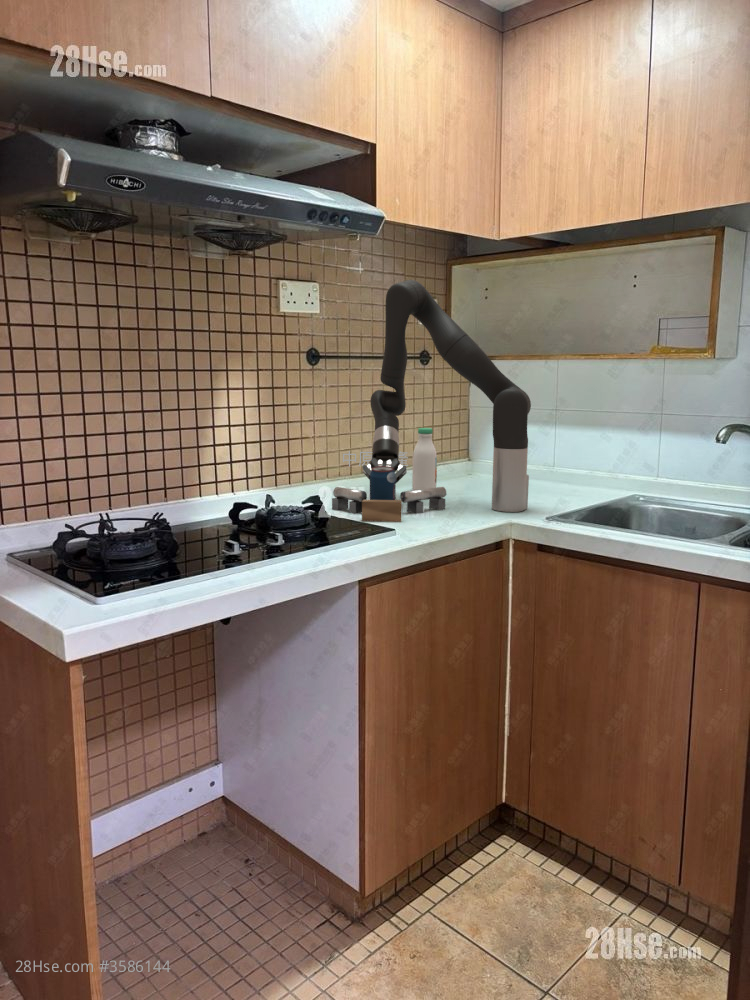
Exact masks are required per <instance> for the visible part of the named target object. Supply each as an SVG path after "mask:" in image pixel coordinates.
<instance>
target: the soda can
mask: <svg viewBox="0 0 750 1000" xmlns="http://www.w3.org/2000/svg"><path fill="white" fill-rule="evenodd" d="M395 473H396V471H395V472H394V470H393V467H389V466H376V467H373V468H371V473H370V480H369V500H396V496H397V495H396V491H397V490H396V488H397V486H396V484H397V483H396V475H395Z"/></svg>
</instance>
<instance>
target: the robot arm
mask: <svg viewBox="0 0 750 1000" xmlns="http://www.w3.org/2000/svg"><path fill="white" fill-rule="evenodd" d="M410 315H411V316H412V317H414V318H416V320H417V321H418V322H420V324H422V326H423V327H424V328H425V329H426V330H427V331H428V334H429V336H430V337H431V339H432V343H433V344H434V347H435V348H436V351H437V353H438V354H439V355H440V357H442V359H443V360H444V361H445V362H446V363H447V364H448V365H449V366H450V367H451V368H452V369H453V370H454V371H456V372H457V374H458V375H460V376H461V377H463V378H464V379H466V381H468V382H469V383H471V384H472V385H474V386H475V387H476V388H478V389H480V390H481V392H483V394H484V395H485V396H486V397H487V398H488V399H489V400H490V402H491V403H492V405H493V407H492V437H493V454H492V455H493V456H492V457H493V458H492V459H493V460H492V482H491V483H492V484H491V485H492V486H491V510H494V511H497V512H507V513H516V512H517V513H518V512H523V510H524V511H525V510H527V508H529V505H528V504H529V485H530V484H529V483H530V481H529V480H530V475H529V474H528V472H527V471H528V452H529V451H528V449H529V437H528V418H529V416H528V415H529V413H530V411H531V409H532V408H531V406H532V403H531V398H530V396H529V395H528V393H527V392H526V391H524V390H523V389H522V388H521V387H519V386H518V385H516V383H514V382H513V381H511V380H510V378H508V377H507V376H506V375H505V374H503V372H502V371H501V370H500V369H499V368H498V367H497V366H496V365H495V363H494V362H493V361H492V360H491V358H490V357H489V356H488V355H487V353H485V352H484V350H483V349H482V348H481V347H480V346H479V344H477V343H476V342H475V340H473V338H472V337H471V336H470V335H469V334H468V333H467V332H466V331H465V330H463V329H462V328H461V327H460V326H459V325H458V324H457V322H455V320H453V319H452V318H451V316H449V315H448V314H447V313H446V312H445V311H444V309H443V308H442V307H441V306H440V305H439V304H438V303H437V301H436V300H435V299H434V297H433V296H432V295H431V294H430V292H429V291H428V290H427V288H426V287H425V286H424V285H423V284H422V283H420V282H419V281H417V280H414V279H406V280H403V281H399V282H396V283H394V284H392V285H391V286H390V287H389V288H388V289H387V291H386V295H385V333H384V334H385V336H384V338H385V339H384V351H383V358H382V359H383V360H382V364H381V373H380V381H381V384H383V385H385V386H387V387H389V388H392V389H394V391H393V390H382V389H377V390H375V391H374V392H373V393H372V394H371V396H370V401H369V402H370V408H371V412H372V415H373V418H374V434H373V440H372V451H371V452H372V453H371V459H370V461H369V464H367V465H366V464H363V465H362V473H363V475H364V476H366V478H367V479H368V480H369V481H370V473H371V471H372V468H373V467H376V466H389V467H393V470H394V472H395V475H396V484H397V483H398V482H399V481H400V480H401V479H402V478H403V477H404V476H406V474H407V470H408V469H407V468H408V467H407V465H402V464H401V462H400V460H399V455H400V453H399V452H400V434H399V432H400V431H399V430H400V420H399V418H398V416H401V415H402V414H404V412H405V410H406V406H407V405H406V403H407V402H406V396H405V395H406V394H405V376H406V370H407V365H408V349H407V344H406V328H407V324H408V321H409V318H410Z"/></svg>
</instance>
